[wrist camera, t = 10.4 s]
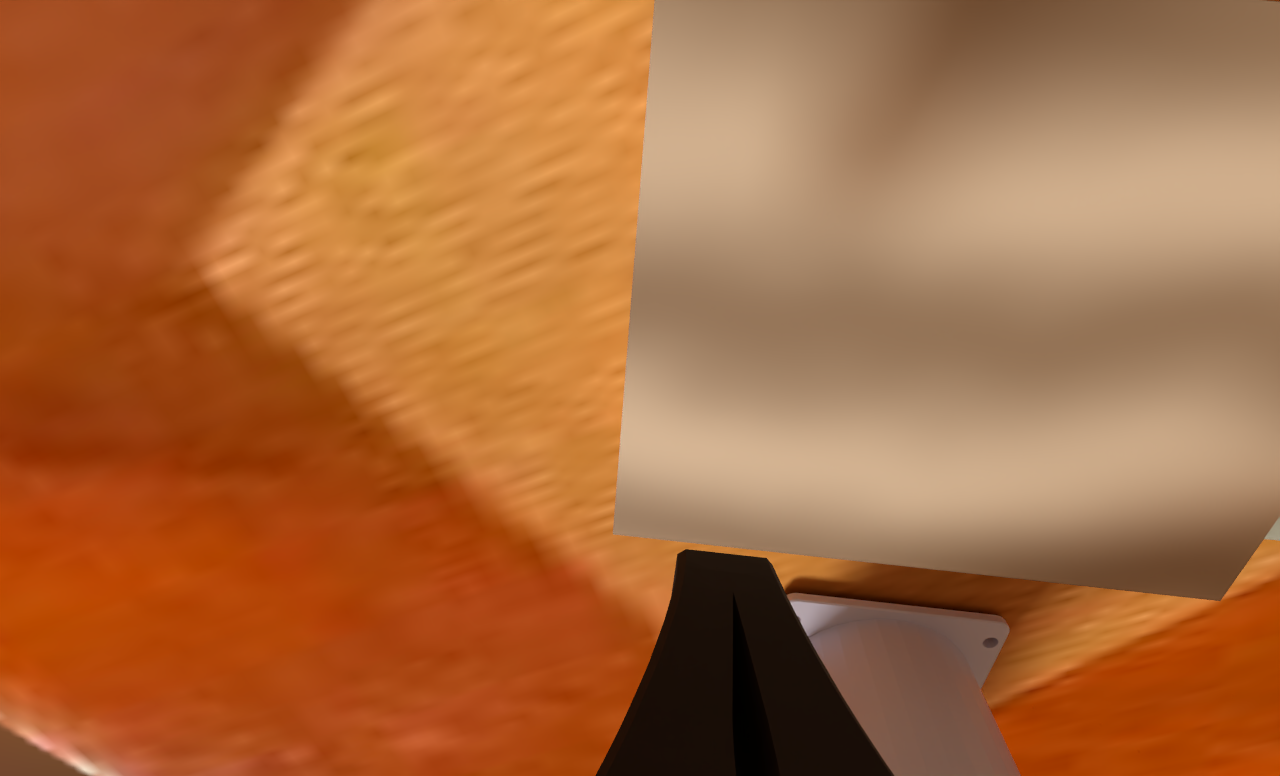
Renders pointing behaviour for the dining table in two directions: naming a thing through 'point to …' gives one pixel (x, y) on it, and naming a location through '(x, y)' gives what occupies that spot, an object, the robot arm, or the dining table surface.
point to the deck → (961, 286)
